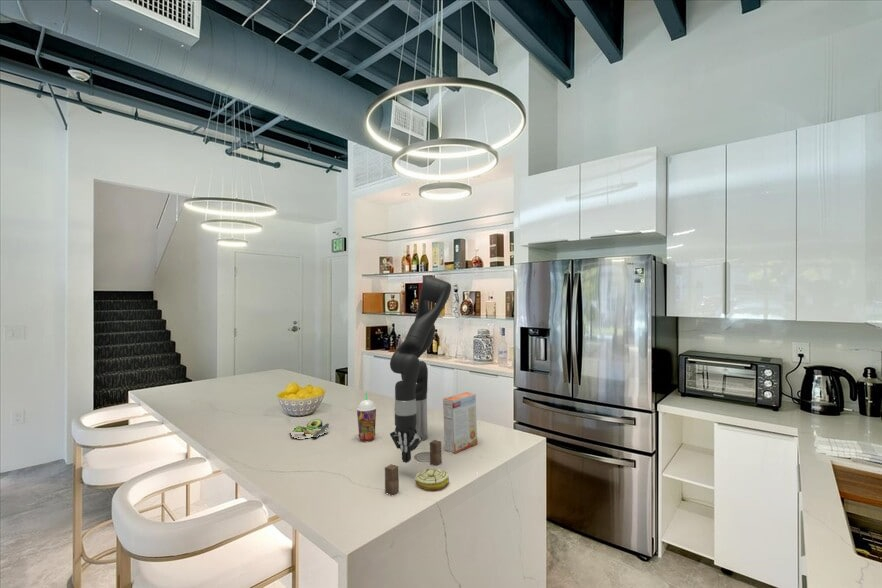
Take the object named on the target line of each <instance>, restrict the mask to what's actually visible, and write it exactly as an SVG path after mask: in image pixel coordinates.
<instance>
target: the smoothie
mask: <svg viewBox="0 0 882 588" xmlns="http://www.w3.org/2000/svg"><path fill="white" fill-rule="evenodd" d="M356 415H357V425H358V426H357V427H358V437H359V440H360V441H361V440H362V441H361V442H363V441H369V442H372V441H374V440H375V437H376V421H377V420H376V419H377V418H376V417H377V406H376V404H375V403H374V402H373V401H372V400H371V399H368V393H367V392H366V393H365V399H363V400H362V401H361V402H359V403H358V406H357V407H356ZM371 440H372V441H371Z"/></svg>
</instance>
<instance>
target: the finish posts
mask: <svg viewBox="0 0 882 588" xmlns="http://www.w3.org/2000/svg"><path fill="white" fill-rule="evenodd" d="M442 463H443V462H442V441H441V440H436V439H433V440H431V441H430V442H429V465H431V466H435V467H438V466H440V465H441V464H442ZM399 480H400V479H399V466H398V465H395V464H392V463H391V464H388V465H387V466H385V467H384V493H385V494H386V493H388V494H387V495H389V494H390V495H389V496H392V495H393V496H395V495H396V494H397V492H398V493H399V492H400V490H399V489H400V484H399ZM394 494H395V495H394Z"/></svg>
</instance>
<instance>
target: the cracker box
mask: <svg viewBox="0 0 882 588" xmlns="http://www.w3.org/2000/svg"><path fill="white" fill-rule="evenodd" d="M476 395H477V394H476V393H471V392H465V391H464V392H462V393H459V394H458V393H457V394H455V395H451V396H447V397H444V398H443V399H442V405H443V406H442V408H443V409H442V410H443V413H442V414H443V435H444V451H446V452H448V453H451V454H457V453H459V452H462V451H465V450H466V449H468V448H471V447H474V446H476V445H478V427H477V425H478V424H477V398H476Z"/></svg>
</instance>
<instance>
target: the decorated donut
mask: <svg viewBox="0 0 882 588" xmlns="http://www.w3.org/2000/svg"><path fill="white" fill-rule="evenodd" d="M449 478H450V477H449V473H448V472H447V471H446V470H444V469H441V468H440V469H439V468H426V469H423V470H421V471H419V472H418V473H416V475H415V477H414V481H415V484H416V485H417V486H418V487H419V488H421V489H424V490H427V491H437V490H441V489H442V488H445V487H446V486H447V484H448V483H449Z"/></svg>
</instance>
